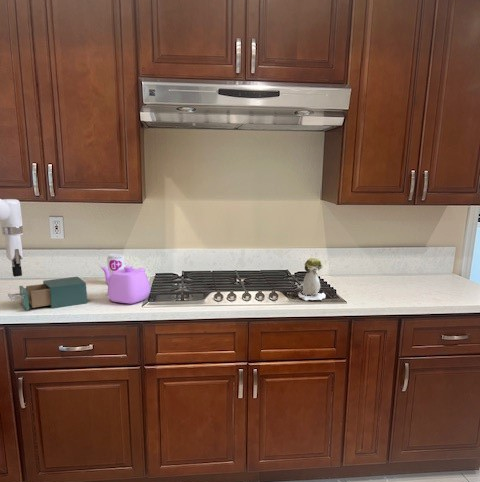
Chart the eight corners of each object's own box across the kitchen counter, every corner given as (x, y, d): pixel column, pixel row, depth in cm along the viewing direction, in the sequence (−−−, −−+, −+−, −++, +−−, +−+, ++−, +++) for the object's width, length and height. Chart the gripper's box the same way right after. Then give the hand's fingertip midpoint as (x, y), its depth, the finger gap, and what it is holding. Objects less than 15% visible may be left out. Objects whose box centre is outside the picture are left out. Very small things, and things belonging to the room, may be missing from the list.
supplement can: (123, 286, 226) (122, 256, 222) (106, 286, 226) (105, 256, 222) (127, 282, 234) (126, 253, 230) (111, 282, 234) (109, 253, 230)
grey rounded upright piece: (293, 299, 211) (295, 259, 206) (303, 292, 222) (305, 254, 217) (319, 302, 206) (321, 262, 201) (327, 295, 217) (330, 257, 212)
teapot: (160, 294, 214) (159, 262, 210) (135, 307, 195) (133, 272, 191) (118, 289, 222) (116, 258, 218) (89, 301, 202) (87, 267, 198)
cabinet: (51, 308, 192) (49, 287, 189) (44, 300, 202) (42, 280, 199) (87, 303, 200) (85, 282, 197) (79, 296, 210) (77, 276, 207)
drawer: (12, 311, 184) (10, 294, 182) (8, 304, 193) (6, 287, 191) (61, 304, 194) (59, 287, 192) (54, 298, 203) (52, 281, 201)
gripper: (-1, 229, 188) (4, 273, 193) (4, 234, 176) (10, 280, 181) (19, 227, 192) (24, 271, 197) (26, 232, 180) (31, 278, 185)
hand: (17, 275), depth 189 cm, fingers closed
